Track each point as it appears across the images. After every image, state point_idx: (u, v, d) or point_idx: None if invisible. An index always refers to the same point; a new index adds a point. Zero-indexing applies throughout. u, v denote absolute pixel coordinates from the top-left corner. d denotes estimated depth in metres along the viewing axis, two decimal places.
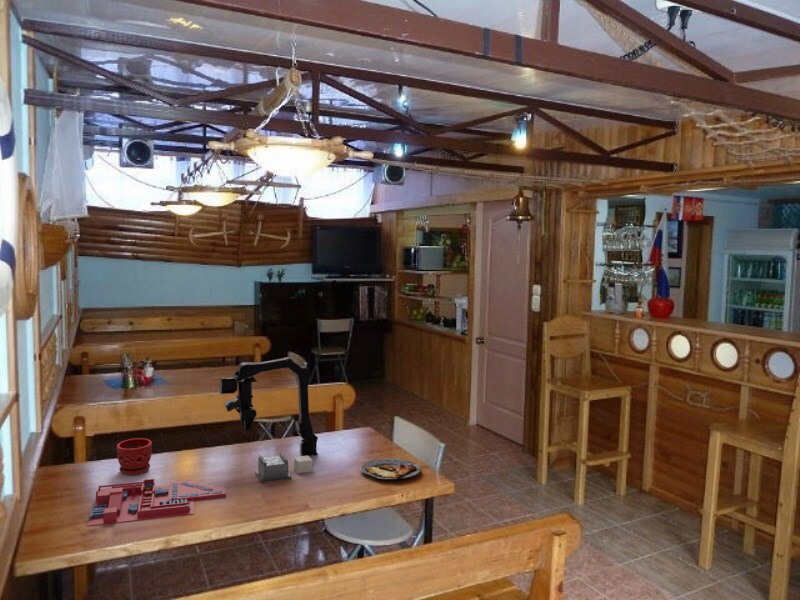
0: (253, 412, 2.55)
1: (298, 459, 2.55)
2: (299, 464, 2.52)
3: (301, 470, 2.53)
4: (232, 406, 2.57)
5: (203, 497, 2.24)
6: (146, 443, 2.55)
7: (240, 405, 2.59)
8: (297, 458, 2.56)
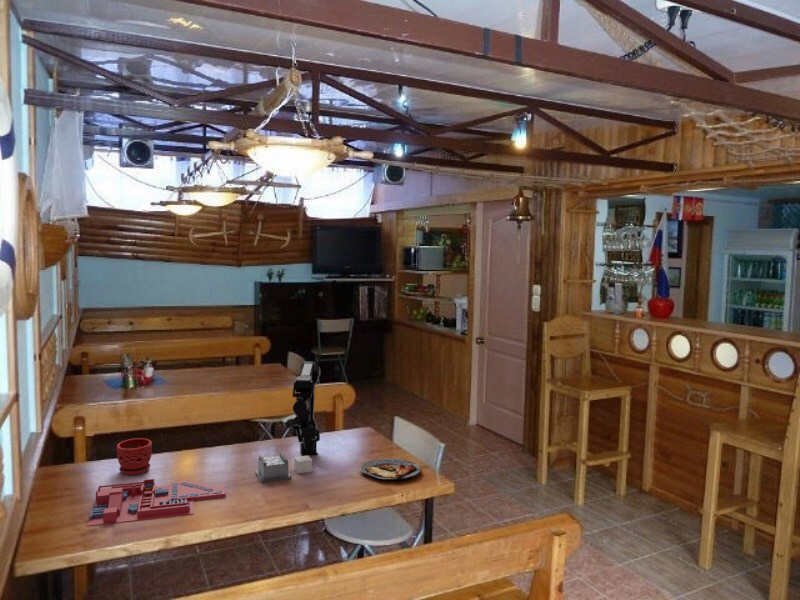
0: (313, 429, 2.47)
1: (298, 459, 2.55)
2: (299, 464, 2.52)
3: (301, 470, 2.53)
4: (291, 423, 2.48)
5: (203, 497, 2.24)
6: (146, 443, 2.55)
7: (299, 422, 2.51)
8: (297, 458, 2.56)
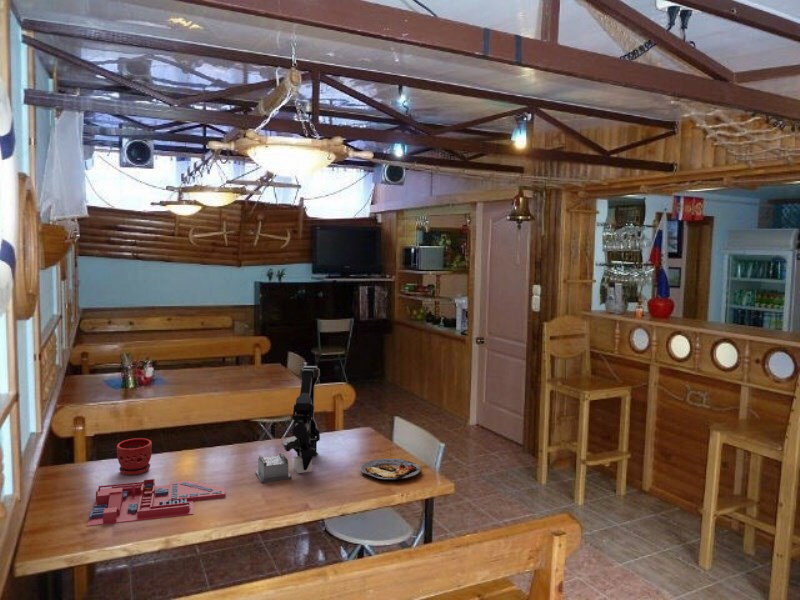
0: (313, 452, 2.48)
1: (298, 459, 2.55)
2: (299, 464, 2.52)
3: (301, 470, 2.53)
4: (291, 446, 2.49)
5: (203, 497, 2.24)
6: (146, 443, 2.55)
7: (299, 444, 2.52)
8: (297, 458, 2.56)
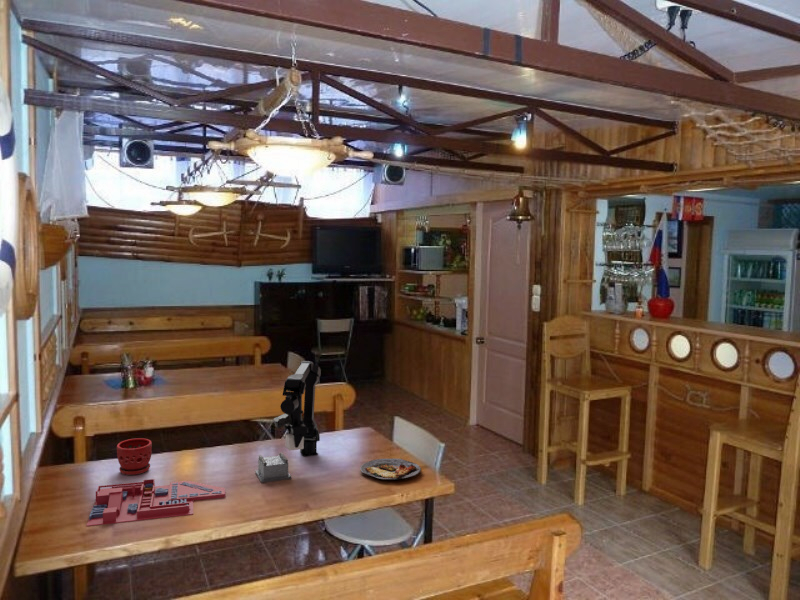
0: (305, 429, 2.45)
1: (289, 436, 2.51)
2: (290, 441, 2.49)
3: (292, 447, 2.50)
4: (283, 422, 2.46)
5: (203, 497, 2.24)
6: (146, 443, 2.55)
7: (290, 421, 2.48)
8: (288, 435, 2.53)
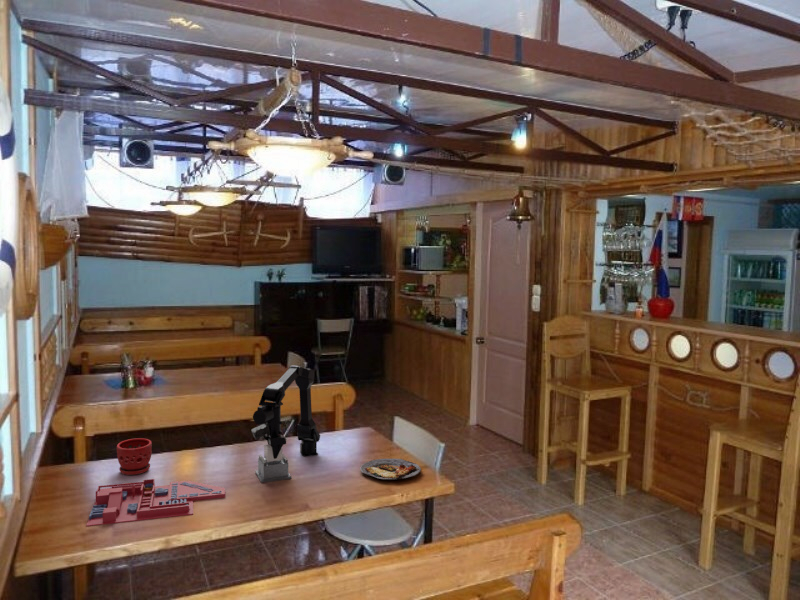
0: (283, 440, 2.40)
1: (268, 447, 2.47)
2: (269, 452, 2.45)
3: (271, 458, 2.45)
4: (260, 434, 2.41)
5: (203, 497, 2.24)
6: (146, 443, 2.55)
7: (268, 432, 2.44)
8: (267, 446, 2.48)
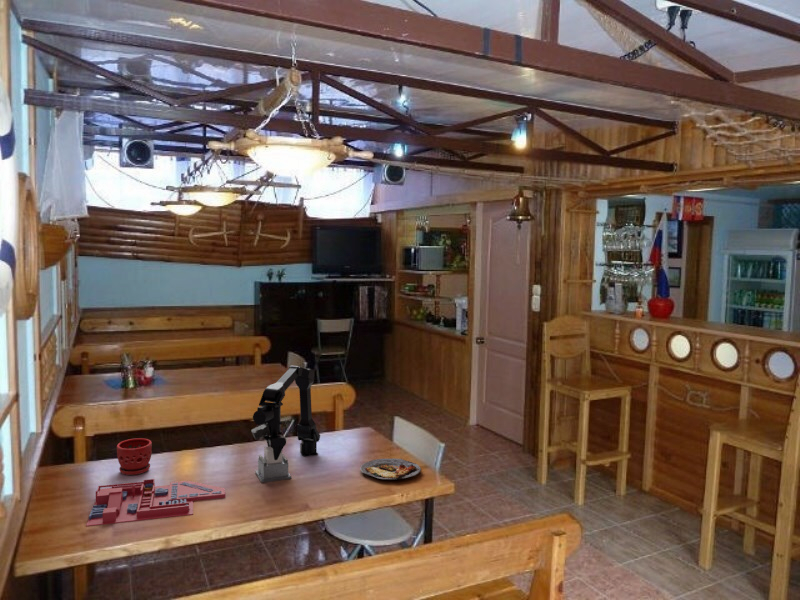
0: (283, 440, 2.40)
1: (268, 449, 2.47)
2: (269, 454, 2.45)
3: (271, 460, 2.45)
4: (260, 434, 2.41)
5: (203, 497, 2.24)
6: (146, 443, 2.55)
7: (268, 432, 2.44)
8: (267, 448, 2.48)
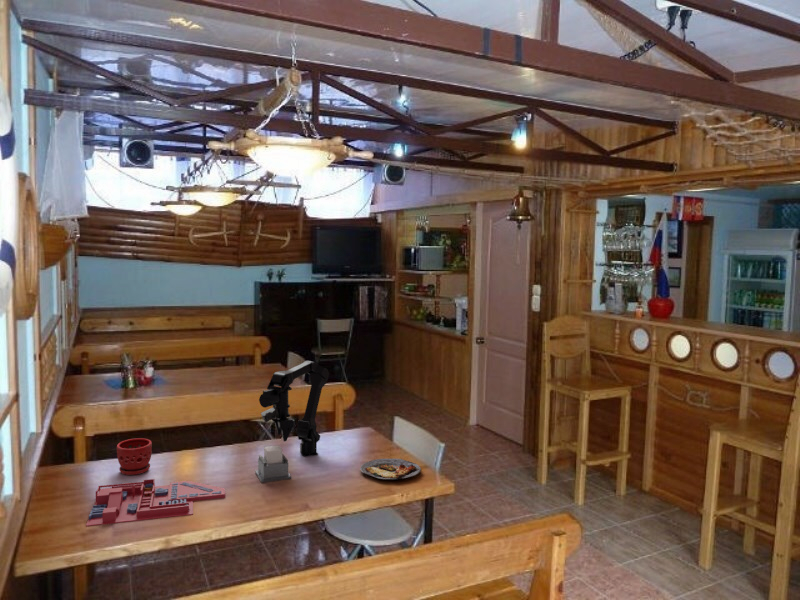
0: (291, 422, 2.53)
1: (268, 449, 2.47)
2: (269, 454, 2.45)
3: (271, 460, 2.45)
4: (270, 417, 2.54)
5: (202, 497, 2.24)
6: (146, 443, 2.55)
7: (277, 415, 2.56)
8: (267, 448, 2.48)
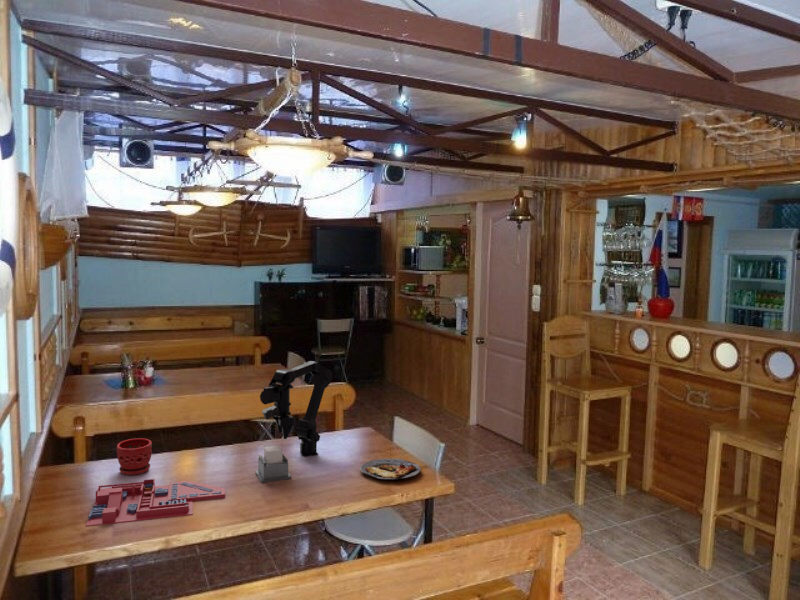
0: (292, 420, 2.54)
1: (268, 449, 2.47)
2: (269, 454, 2.45)
3: (271, 460, 2.45)
4: (270, 414, 2.56)
5: (202, 497, 2.24)
6: (146, 443, 2.55)
7: (278, 413, 2.58)
8: (267, 448, 2.48)
